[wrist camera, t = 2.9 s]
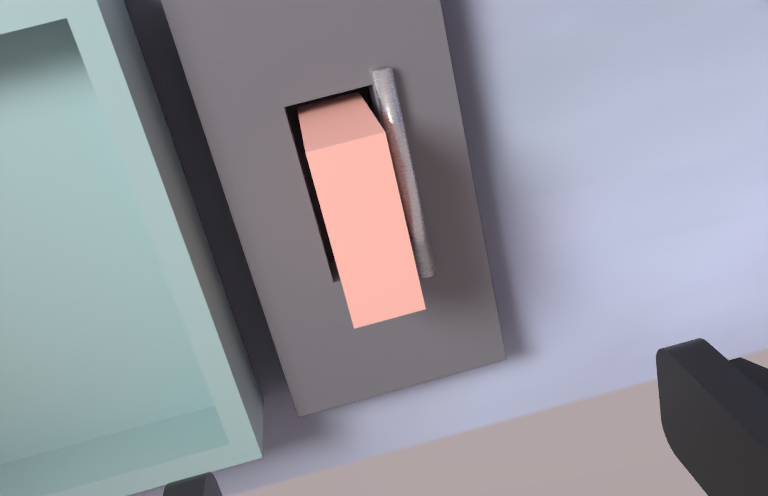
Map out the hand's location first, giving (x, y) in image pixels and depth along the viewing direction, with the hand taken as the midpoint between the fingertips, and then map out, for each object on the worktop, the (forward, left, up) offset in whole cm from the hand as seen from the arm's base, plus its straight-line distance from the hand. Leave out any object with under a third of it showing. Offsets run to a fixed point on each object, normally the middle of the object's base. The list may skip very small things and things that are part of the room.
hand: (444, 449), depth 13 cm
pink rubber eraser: (0, 0, -18) cm, 18 cm away
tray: (0, -14, -17) cm, 22 cm away
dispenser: (0, 0, -17) cm, 17 cm away
